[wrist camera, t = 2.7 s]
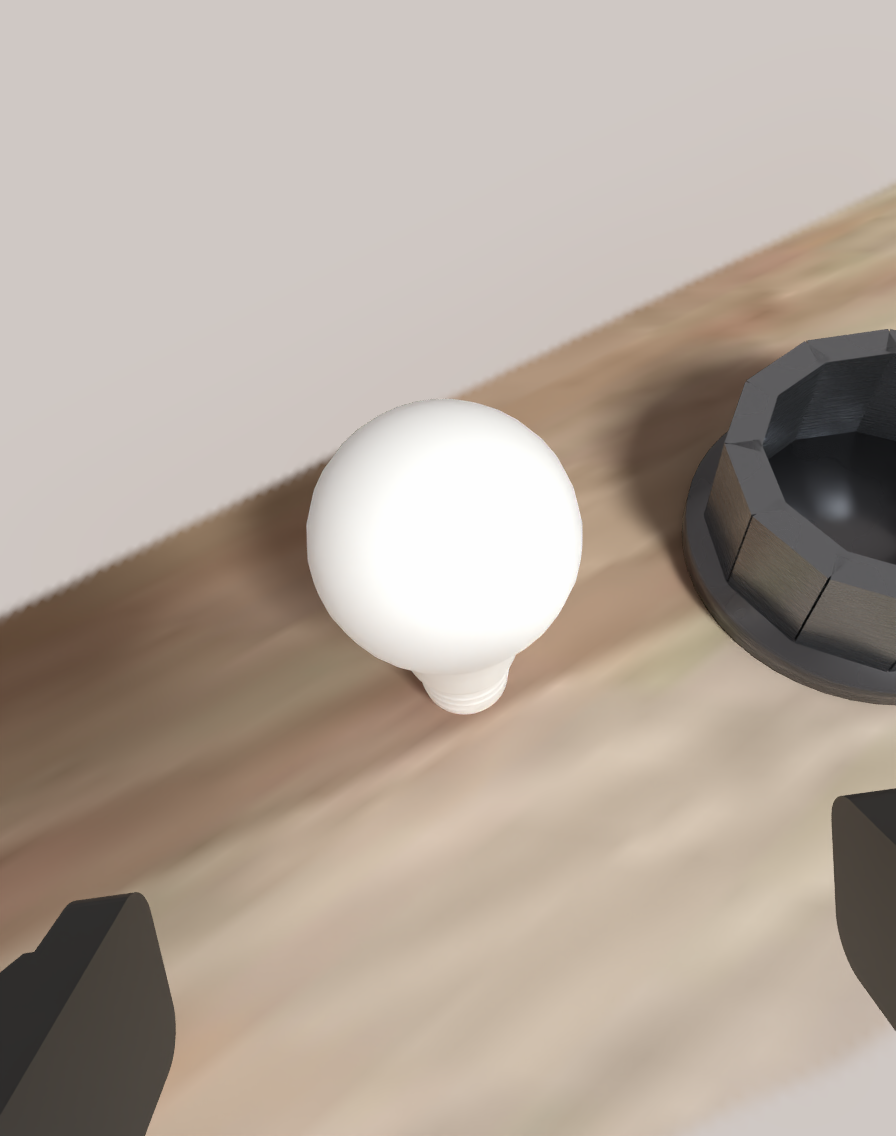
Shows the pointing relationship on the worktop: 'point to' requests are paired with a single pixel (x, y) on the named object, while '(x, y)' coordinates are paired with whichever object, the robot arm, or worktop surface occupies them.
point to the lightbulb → (445, 544)
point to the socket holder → (806, 518)
